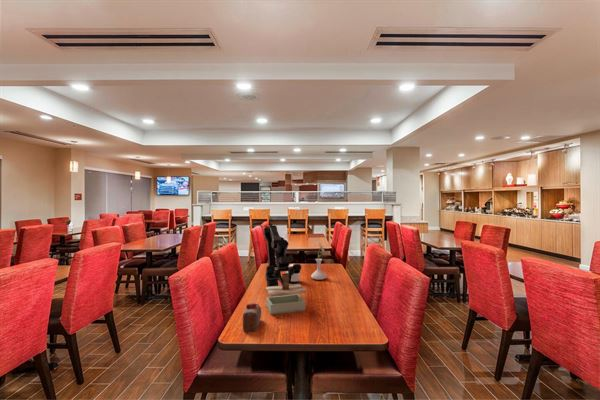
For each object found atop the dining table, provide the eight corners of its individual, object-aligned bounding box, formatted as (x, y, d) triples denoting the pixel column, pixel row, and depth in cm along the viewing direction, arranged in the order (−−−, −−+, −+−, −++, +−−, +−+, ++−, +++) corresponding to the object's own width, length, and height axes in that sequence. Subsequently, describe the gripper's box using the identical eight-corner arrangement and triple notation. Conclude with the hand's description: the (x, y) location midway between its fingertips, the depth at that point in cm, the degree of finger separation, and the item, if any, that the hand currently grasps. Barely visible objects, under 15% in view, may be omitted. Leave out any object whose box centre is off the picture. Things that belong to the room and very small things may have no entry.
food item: (245, 319, 148) (244, 299, 147) (261, 319, 148) (261, 298, 148) (241, 332, 134) (241, 309, 134) (260, 331, 135) (260, 309, 134)
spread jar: (299, 284, 205) (299, 266, 205) (282, 284, 205) (282, 266, 205) (299, 279, 217) (299, 262, 217) (283, 279, 217) (283, 262, 217)
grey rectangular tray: (266, 306, 164) (266, 297, 164) (298, 303, 169) (298, 294, 169) (270, 315, 153) (270, 305, 153) (305, 310, 158) (305, 301, 158)
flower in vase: (326, 281, 211) (325, 245, 211) (309, 280, 214) (309, 244, 213) (328, 276, 224) (328, 242, 224) (312, 275, 227) (312, 241, 226)
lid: (265, 289, 164) (265, 272, 164) (299, 285, 170) (299, 270, 170) (270, 296, 152) (270, 279, 152) (306, 293, 158) (306, 275, 158)
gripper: (266, 251, 162) (270, 277, 151) (300, 249, 167) (306, 274, 157) (263, 262, 169) (267, 288, 159) (296, 260, 175) (302, 285, 165)
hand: (286, 284), depth 160 cm, fingers closed on lid, 4 cm apart
